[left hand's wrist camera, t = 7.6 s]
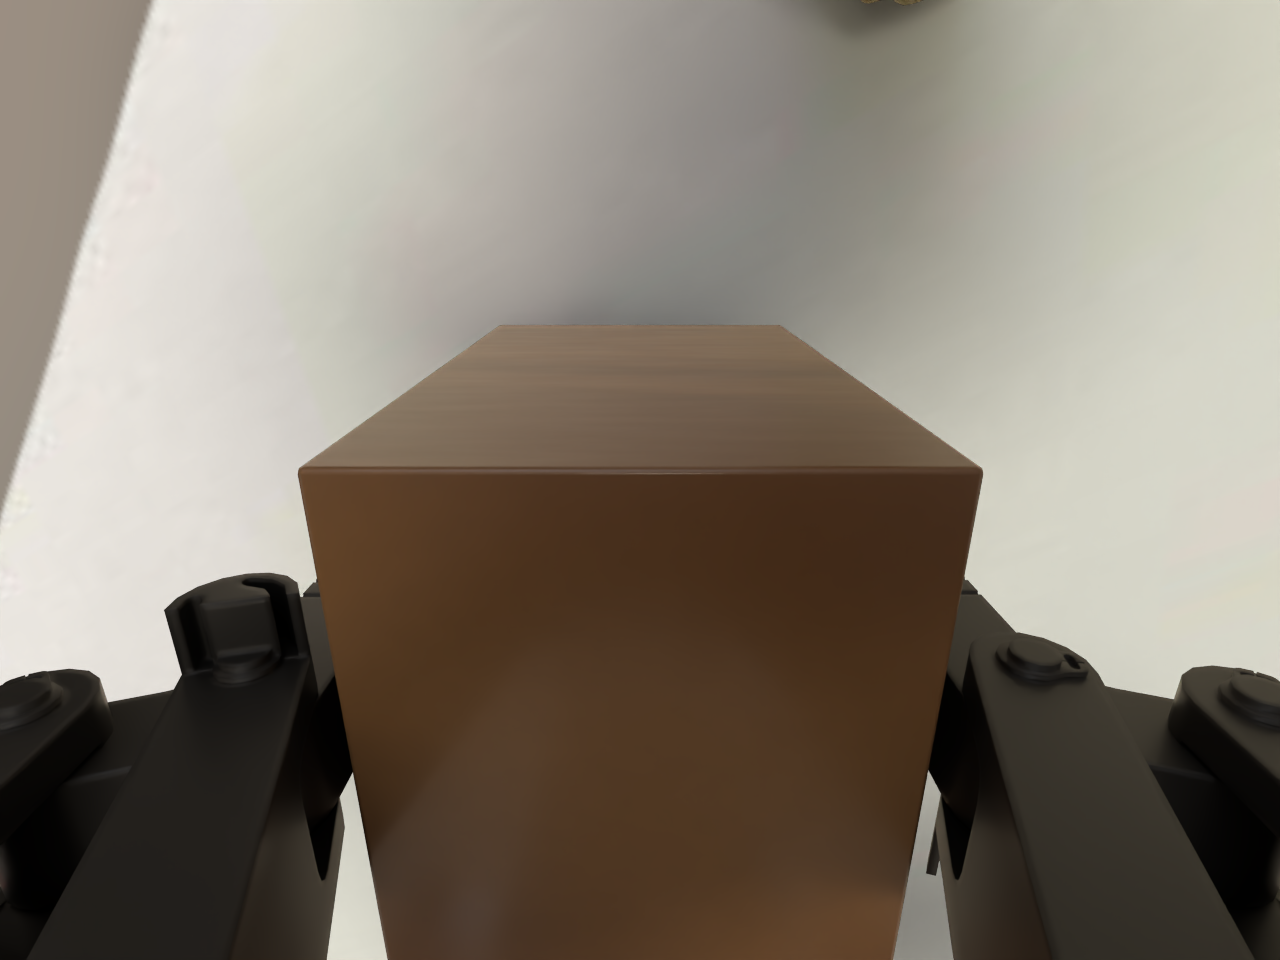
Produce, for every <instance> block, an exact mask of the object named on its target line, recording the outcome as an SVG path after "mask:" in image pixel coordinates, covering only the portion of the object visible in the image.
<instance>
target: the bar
mask: <svg viewBox="0 0 1280 960" xmlns="http://www.w3.org/2000/svg"><path fill="white" fill-rule="evenodd" d="M298 478H299V483H300V488H301V494H302V499H303V505H304V510H305V515H306V521H307V526H308V532H309V537H310V542H311V548H312V553H313V559H314V564H315V569H316V575H317V580H318V586H319V591H320V596H321V602H322V607H323V613H324V618H325V623H326V629H327V634H328V640H329V645H330V650H331V656H332V661H333V667H334V672H335V678H336V683H337V688H338V694H339V699H340V705H341V710H342V715H343V721H344V726H345V732H346V737H347V742H348V748H349V753H350V759H351V764H352V769H353V775H354V780H355V786H356V791H357V796H358V802H359V807H360V813H361V818H362V823H363V829H364V834H365V840H366V845H367V850H368V856H369V861H370V867H371V872H372V877H373V883H374V888H375V894H376V899H377V904H378V910H379V915H380V921H381V926H382V931H383V937H384V942H385V948H386V953H387V958H388V960H893V956H894V951H895V946H896V940H897V935H898V930H899V924H900V919H901V913H902V908H903V903H904V897H905V892H906V887H907V881H908V876H909V870H910V865H911V860H912V854H913V849H914V844H915V838H916V833H917V827H918V822H919V817H920V811H921V806H922V801H923V795H924V790H925V784H926V779H927V774H928V768H929V763H930V757H931V752H932V747H933V741H934V736H935V731H936V725H937V720H938V714H939V709H940V704H941V698H942V693H943V688H944V682H945V677H946V671H947V666H948V661H949V655H950V650H951V645H952V639H953V634H954V628H955V623H956V618H957V612H958V607H959V602H960V596H961V591H962V585H963V580H964V575H965V569H966V564H967V558H968V553H969V548H970V542H971V537H972V532H973V526H974V521H975V515H976V510H977V505H978V499H979V494H980V489H981V483H982V478H983V470H982V468H981V467H979V466H978V465H977V464H975V463H974V462H972V461H971V460H970V459H968V458H967V457H965V456H964V455H962V454H961V453H960V452H958V451H957V450H955V449H954V448H953V447H951V446H950V445H948V444H947V443H946V442H944V441H943V440H941V439H940V438H939V437H937V436H936V435H934V434H933V433H931V432H930V431H929V430H927V429H926V428H924V427H923V426H922V425H920V424H919V423H917V422H916V421H915V420H913V419H912V418H910V417H909V416H908V415H906V414H905V413H903V412H902V411H900V410H899V409H898V408H896V407H895V406H893V405H892V404H891V403H889V402H888V401H886V400H885V399H884V398H882V397H881V396H879V395H878V394H877V393H875V392H874V391H872V390H871V389H869V388H868V387H867V386H865V385H864V384H862V383H861V382H860V381H858V380H857V379H855V378H854V377H853V376H851V375H850V374H848V373H847V372H846V371H844V370H843V369H841V368H840V367H838V366H837V365H836V364H834V363H833V362H831V361H830V360H829V359H827V358H826V357H824V356H823V355H822V354H820V353H819V352H817V351H816V350H815V349H813V348H812V347H810V346H809V345H807V344H806V343H805V342H803V341H802V340H800V339H799V338H798V337H796V336H795V335H793V334H792V333H791V332H789V331H788V330H786V329H785V328H784V327H782V326H780V325H500V326H498V327H497V328H495V329H494V330H493V331H491V332H490V333H488V334H487V335H486V336H484V337H483V338H481V339H480V340H479V341H477V342H476V343H474V344H473V345H472V346H470V347H469V348H467V349H466V350H465V351H463V352H462V353H460V354H459V355H458V356H456V357H455V358H453V359H452V360H450V361H449V362H448V363H446V364H445V365H443V366H442V367H441V368H439V369H438V370H436V371H435V372H434V373H432V374H431V375H429V376H428V377H427V378H425V379H424V380H422V381H421V382H420V383H418V384H417V385H415V386H414V387H413V388H411V389H410V390H408V391H407V392H406V393H404V394H403V395H401V396H400V397H398V398H397V399H396V400H394V401H393V402H391V403H390V404H389V405H387V406H386V407H384V408H383V409H382V410H380V411H379V412H377V413H376V414H375V415H373V416H372V417H370V418H369V419H368V420H366V421H365V422H363V423H362V424H361V425H359V426H358V427H356V428H355V429H354V430H352V431H351V432H349V433H348V434H346V435H345V436H344V437H342V438H341V439H339V440H338V441H337V442H335V443H334V444H332V445H331V446H330V447H328V448H327V449H325V450H324V451H323V452H321V453H320V454H318V455H317V456H316V457H314V458H313V459H311V460H310V461H309V462H307V463H306V464H304V465H303V466H302V467H300V468H299V470H298Z"/></svg>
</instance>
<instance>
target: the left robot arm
mask: <svg viewBox="0 0 1280 960" xmlns="http://www.w3.org/2000/svg"><path fill="white" fill-rule="evenodd" d="M164 611H165V615H166V618H167V622H168V626H169V629H170V633H171V636H172V640H173V644H174V647H175V651H176V654H177V658H178V662H179V665H180V669H181V672H182V676H181V677H180V679H179V681H178V683H177V685H176V687H175V688H174V690H170V691H166V692H161V693H156V694H150V695H145V696H140V697H134V698H129V699H124V700H119V701H113V702H107V699H106V696H105V693H104V690H103V687H102V684H101V681H100V678H99V677H97V676H96V675H94V674H93V673H91V672H90V671H85V670H76V669H64V670H56V671H48V672H47V671H41V672H37V673H32V674H29V675H28V676H27V677H25V675H24V676H21V677H18V678H15V679H12V680H9V681H7V682H5V683H4V684H3V685H1V686H0V960H327V953H328V945H329V938H330V931H331V923H332V916H333V909H334V902H335V894H336V887H337V880H338V872H339V865H340V858H341V851H342V843H343V836H344V829H345V826H344V819H343V812H342V807H341V802H340V795H341V793H342V792H343V790H344V788H345V786H346V784H347V782H348V780H349V778H350V776H351V774H352V772H353V769H352V764H351V759H350V753H349V748H348V742H347V737H346V732H345V726H344V721H343V715H342V710H341V705H340V699H339V694H338V688H337V683H336V678H335V672H334V667H333V661H332V656H331V650H330V645H329V640H328V634H327V629H326V623H325V618H324V613H323V607H322V602H321V596H320V591H319V586H318V580H317V579H316V583H313V584H312V585H311V586H310V587H309V588H308V589H307V590H306V591H305V592H304V593H303V597H300V594H299V589H298V584H297V582H295V581H294V580H292V579H291V578H289V577H288V576H285V575H279V574H274V573H252V574H243V575H238V576H233V577H227V578H222V579H219V580H216V581H213V582H210V583H208V584H205V585H202V586H199V587H197V588H195V589H193V590H191V591H189V592H187V593H185V594H183V595H182V596H180V597H178V598H177V599H175V600H174V601H173V602H172V603H171V604H170V605H169V606H168V607H167V608H166V609H165V610H164ZM928 770H929V772H930V774H931V776H932V777H933V779H934V781H935V783H936V785H937V787H938V789H939V791H940V793H941V797H940V802H939V807H938V812H937V817H936V822H935V827H934V832H933V837H932V842H931V847H930V853H929V858H928V864H927V871H926V873H927V874H931V875H935V876H936V872H937V868H938V863H939V861H940V864H941V871H942V878H943V885H944V893H945V900H946V907H947V914H948V922H949V929H950V936H951V943H952V951H953V958H954V960H1280V682H1279V681H1278V680H1277V679H1276V678H1274V677H1271V676H1268V675H1265V674H1262V673H1259V672H1257V674H1256V673H1254V672H1253V671H1251V670H1246V669H1242V668H1228V667H1220V666H1204V667H1195V668H1192V669H1190V670H1189V671H1187V672H1186V673H1184V674H1183V675H1182V677H1181V680H1180V683H1179V686H1178V689H1177V692H1176V695H1175V698H1174V699H1168V698H1163V697H1158V696H1152V695H1147V694H1142V693H1136V692H1131V691H1126V690H1120V689H1115V688H1111V687H1107V686H1105V685H1104V683H1103V682H1102V680H1101V678H1100V676H1099V674H1098V673H1097V672H1096V671H1095V670H1094V668H1093V667H1092V666H1091V665H1090V664H1089V663H1088V662H1087V660H1085V659H1084V658H1082V657H1081V656H1079V655H1078V654H1076V653H1074V652H1073V651H1071V650H1070V649H1068V648H1067V647H1064V646H1062V645H1059V644H1057V643H1054V642H1052V641H1049V640H1047V639H1044V638H1041V637H1036V636H1032V635H1027V634H1023V633H1016V632H1015V631H1014V630H1013V629H1012V628H1011V627H1010V626H1009V624H1008V623H1007V622H1006V621H1005V620H1004V619H1003V618H1002V617H1001V616H1000V615H999V614H998V613H997V611H996V610H995V609H994V608H993V607H992V606H991V605H990V604H989V603H988V602H987V601H986V599H985V598H984V597H983V596H982V595H978V591H977V590H976V589H975V588H974V586H973V585H972V584H971V583H970V582H969V581H968V580H965V577H964V580H963V585H962V591H961V596H960V602H959V607H958V612H957V618H956V623H955V628H954V634H953V639H952V645H951V650H950V655H949V661H948V666H947V671H946V677H945V682H944V688H943V693H942V698H941V704H940V709H939V714H938V720H937V725H936V731H935V736H934V741H933V747H932V752H931V757H930V763H929V768H928Z"/></svg>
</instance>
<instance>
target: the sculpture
mask: <svg viewBox="0 0 1280 960" xmlns="http://www.w3.org/2000/svg"><path fill="white" fill-rule="evenodd" d="M861 1H862V2H864V3H873V2H877V1H881V0H861ZM894 1H895V2H896V3H899V4H901V5H909V4H914V3H917V2H920V1H923V0H894Z"/></svg>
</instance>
